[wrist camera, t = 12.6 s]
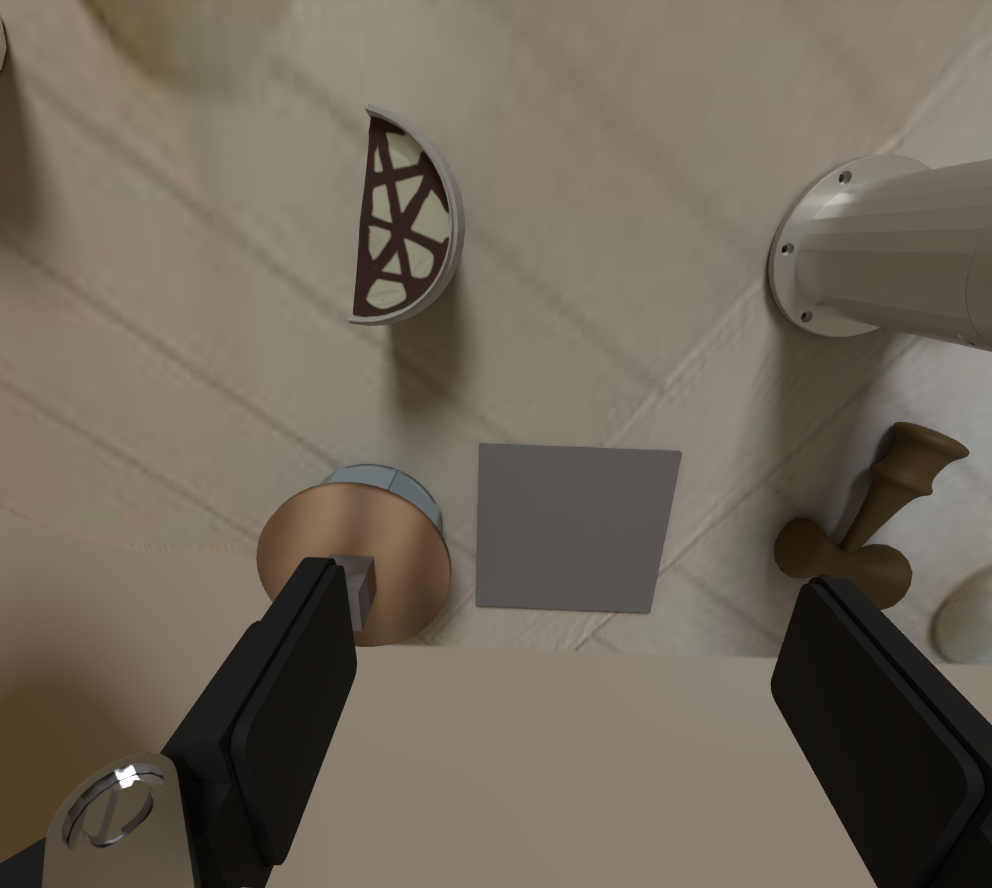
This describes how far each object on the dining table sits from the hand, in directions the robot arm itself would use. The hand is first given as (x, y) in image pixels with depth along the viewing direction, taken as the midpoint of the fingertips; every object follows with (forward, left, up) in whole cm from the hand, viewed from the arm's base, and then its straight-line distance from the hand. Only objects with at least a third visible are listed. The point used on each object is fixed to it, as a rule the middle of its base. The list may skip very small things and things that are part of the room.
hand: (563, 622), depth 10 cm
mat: (-6, +18, -32) cm, 38 cm away
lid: (+13, +18, -26) cm, 34 cm away
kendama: (-31, +15, -33) cm, 48 cm away
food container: (+7, -8, -32) cm, 34 cm away
